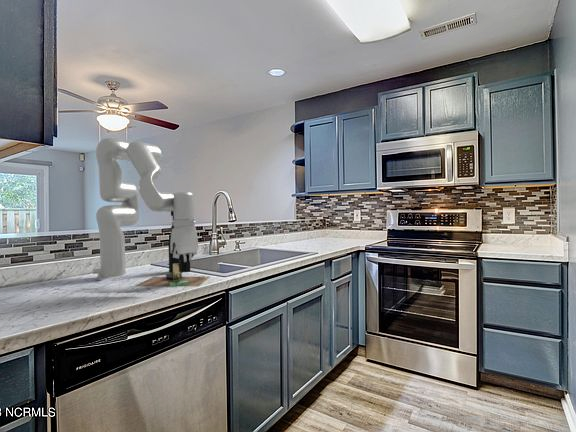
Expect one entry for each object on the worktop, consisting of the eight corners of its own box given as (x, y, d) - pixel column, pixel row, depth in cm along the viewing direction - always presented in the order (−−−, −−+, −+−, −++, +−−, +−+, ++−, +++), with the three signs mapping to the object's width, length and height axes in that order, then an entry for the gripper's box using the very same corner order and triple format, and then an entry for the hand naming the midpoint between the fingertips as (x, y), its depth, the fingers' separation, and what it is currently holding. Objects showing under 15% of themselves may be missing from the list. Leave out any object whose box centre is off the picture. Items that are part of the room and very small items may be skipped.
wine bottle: (179, 273, 147) (177, 208, 146) (187, 275, 143) (185, 208, 142) (166, 275, 142) (164, 208, 141) (174, 277, 138) (172, 208, 137)
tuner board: (133, 290, 117) (133, 283, 117) (153, 280, 133) (153, 274, 133) (198, 290, 116) (198, 283, 116) (210, 280, 132) (210, 274, 132)
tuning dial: (165, 277, 131) (165, 259, 131) (180, 275, 133) (180, 258, 133) (168, 286, 116) (168, 265, 116) (186, 284, 118) (185, 264, 118)
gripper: (192, 223, 130) (194, 267, 131) (161, 225, 118) (163, 274, 118) (205, 223, 126) (207, 269, 127) (174, 225, 114) (176, 276, 114)
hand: (185, 271), depth 122 cm, fingers closed
